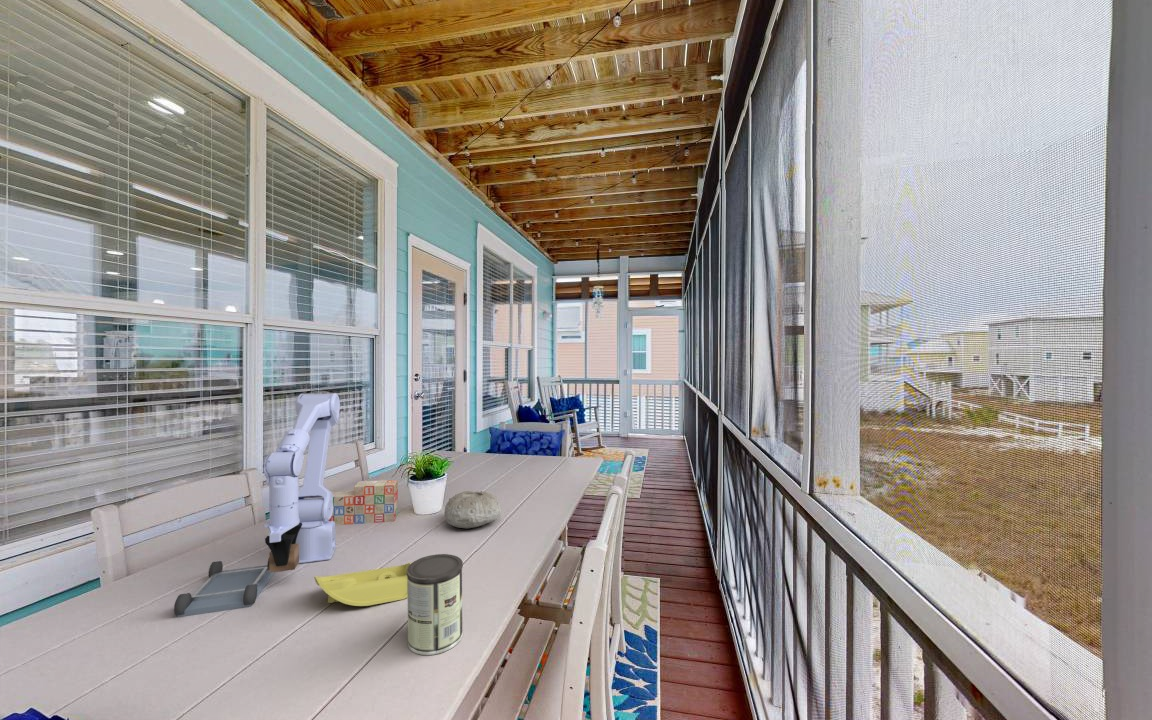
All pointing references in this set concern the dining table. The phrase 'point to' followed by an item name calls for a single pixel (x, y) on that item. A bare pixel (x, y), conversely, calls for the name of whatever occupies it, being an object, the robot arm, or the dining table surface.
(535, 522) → the dining table surface
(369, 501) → the stack of blocks
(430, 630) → the coffee can
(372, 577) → the plastic component
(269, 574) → the chassis
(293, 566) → the engine block
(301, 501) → the robot arm
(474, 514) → the grey rounded lump
